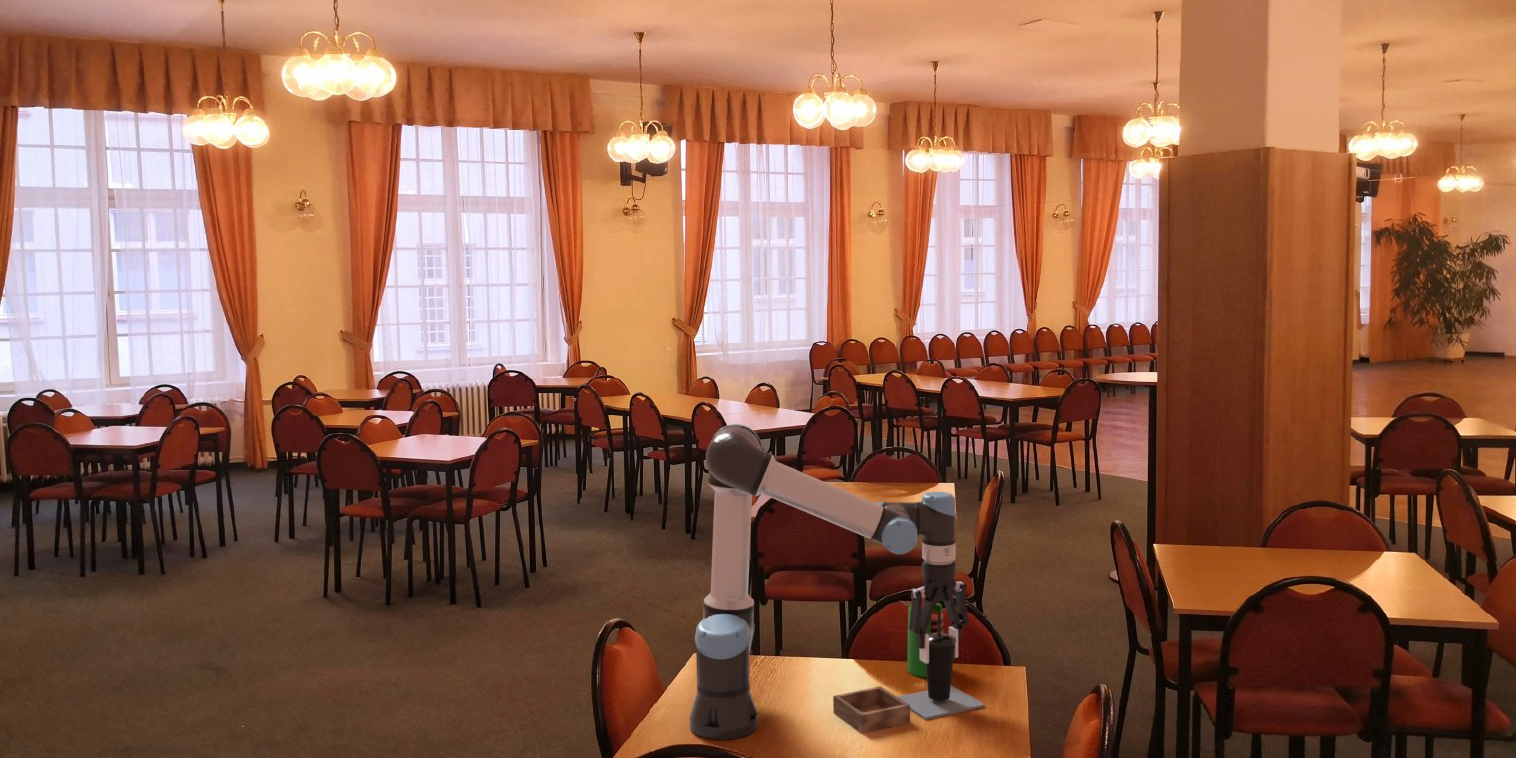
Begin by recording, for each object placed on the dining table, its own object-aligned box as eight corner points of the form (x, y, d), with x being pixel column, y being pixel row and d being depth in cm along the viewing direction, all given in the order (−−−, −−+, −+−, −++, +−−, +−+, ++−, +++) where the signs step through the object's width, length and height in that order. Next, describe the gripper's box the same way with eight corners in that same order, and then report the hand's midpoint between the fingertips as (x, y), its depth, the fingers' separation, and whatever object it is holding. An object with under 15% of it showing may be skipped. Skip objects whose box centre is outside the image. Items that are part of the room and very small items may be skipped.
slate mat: (925, 720, 247) (925, 717, 247) (894, 699, 259) (894, 697, 259) (984, 706, 254) (984, 704, 254) (951, 687, 266) (951, 685, 266)
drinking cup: (919, 701, 254) (919, 615, 252) (924, 689, 261) (924, 605, 259) (953, 704, 252) (954, 618, 250) (957, 692, 259) (958, 608, 257)
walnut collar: (861, 733, 241) (861, 715, 240) (833, 713, 252) (833, 695, 252) (910, 722, 246) (910, 705, 246) (880, 703, 257) (880, 686, 257)
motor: (943, 678, 272) (943, 598, 270) (906, 676, 273) (905, 597, 271) (944, 664, 282) (944, 586, 280) (908, 662, 283) (908, 585, 281)
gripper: (910, 570, 246) (910, 671, 248) (985, 558, 254) (984, 656, 256) (892, 562, 252) (892, 660, 255) (965, 551, 261) (965, 646, 263)
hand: (938, 658), depth 256 cm, fingers closed on drinking cup, 7 cm apart
